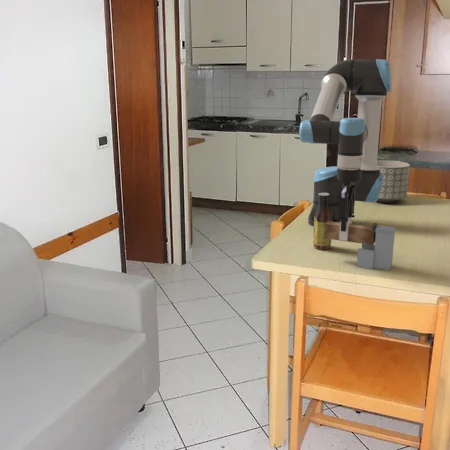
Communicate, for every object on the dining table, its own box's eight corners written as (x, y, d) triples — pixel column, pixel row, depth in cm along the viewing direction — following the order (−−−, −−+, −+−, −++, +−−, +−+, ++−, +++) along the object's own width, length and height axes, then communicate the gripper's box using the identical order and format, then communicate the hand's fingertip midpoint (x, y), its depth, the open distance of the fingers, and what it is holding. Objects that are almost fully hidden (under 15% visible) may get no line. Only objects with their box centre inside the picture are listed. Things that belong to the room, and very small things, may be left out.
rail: (324, 238, 176) (325, 219, 174) (326, 235, 179) (327, 217, 177) (373, 245, 169) (374, 225, 167) (375, 241, 172) (376, 222, 170)
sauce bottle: (318, 243, 194) (321, 190, 188) (334, 247, 190) (337, 193, 185) (309, 248, 189) (311, 193, 184) (325, 251, 185) (328, 196, 180)
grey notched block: (356, 266, 171) (359, 228, 168) (361, 259, 178) (364, 222, 174) (389, 271, 167) (392, 232, 163) (392, 264, 173) (396, 226, 170)
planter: (357, 197, 262) (360, 161, 257) (390, 195, 267) (394, 159, 262) (379, 207, 245) (382, 168, 239) (414, 204, 250) (418, 165, 245)
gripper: (355, 173, 159) (350, 247, 166) (366, 164, 173) (361, 233, 180) (330, 171, 162) (326, 244, 169) (344, 163, 177) (339, 230, 183)
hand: (344, 238), depth 174 cm, fingers closed on rail, 3 cm apart
